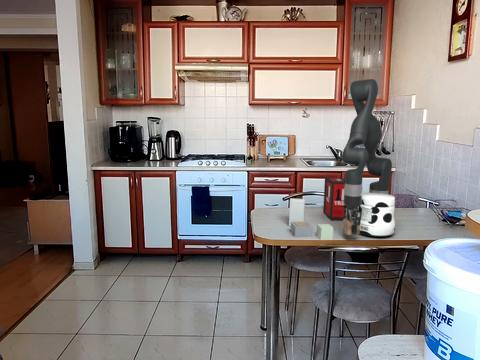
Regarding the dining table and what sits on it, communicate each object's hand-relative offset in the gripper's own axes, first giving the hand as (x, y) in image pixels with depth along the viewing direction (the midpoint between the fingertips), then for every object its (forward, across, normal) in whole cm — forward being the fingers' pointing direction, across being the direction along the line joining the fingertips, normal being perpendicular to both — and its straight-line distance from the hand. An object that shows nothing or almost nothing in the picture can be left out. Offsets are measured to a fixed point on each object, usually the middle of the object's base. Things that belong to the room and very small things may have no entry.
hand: (351, 231), depth 173 cm
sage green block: (+4, +4, +10) cm, 12 cm away
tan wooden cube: (+1, 0, 0) cm, 1 cm away
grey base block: (+4, +10, +20) cm, 22 cm away
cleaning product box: (+5, +38, -8) cm, 39 cm away
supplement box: (+4, +25, +17) cm, 31 cm away
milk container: (+4, +7, -14) cm, 17 cm away
